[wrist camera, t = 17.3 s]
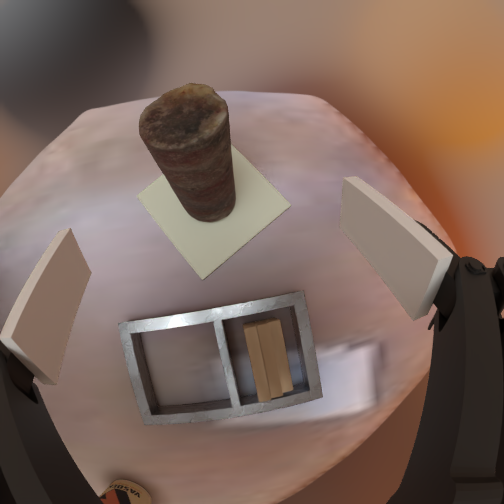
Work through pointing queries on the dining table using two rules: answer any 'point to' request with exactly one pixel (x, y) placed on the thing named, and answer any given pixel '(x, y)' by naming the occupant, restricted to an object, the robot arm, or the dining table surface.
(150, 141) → the dark brown tall cylinder
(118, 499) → the coffee cup
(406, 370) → the dining table surface
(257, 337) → the offcut stack
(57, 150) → the dining table surface
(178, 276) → the dining table surface
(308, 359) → the offcut rack
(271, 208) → the mat
